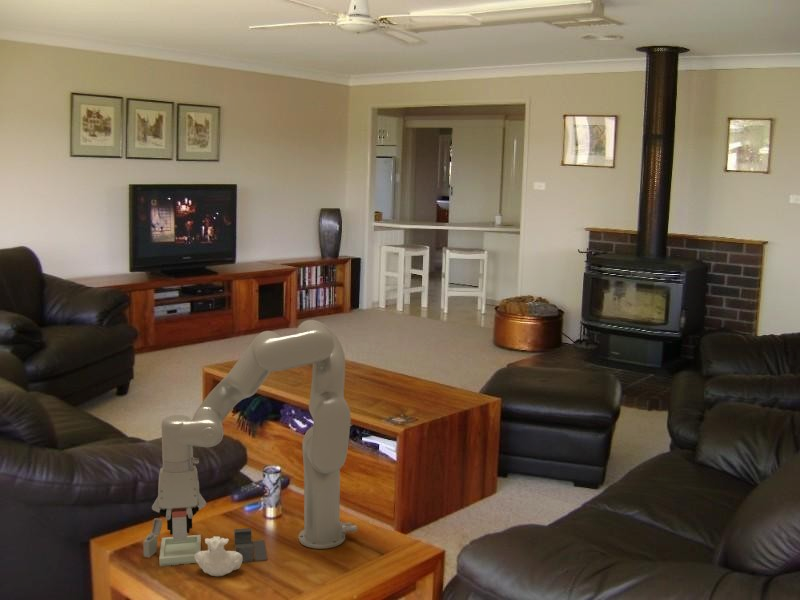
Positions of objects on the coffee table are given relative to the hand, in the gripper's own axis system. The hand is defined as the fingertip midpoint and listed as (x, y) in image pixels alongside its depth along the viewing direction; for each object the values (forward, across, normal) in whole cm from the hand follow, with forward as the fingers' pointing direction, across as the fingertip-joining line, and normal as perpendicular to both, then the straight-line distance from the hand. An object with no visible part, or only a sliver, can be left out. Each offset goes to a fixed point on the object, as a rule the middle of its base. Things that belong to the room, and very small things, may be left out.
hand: (180, 531), depth 222 cm
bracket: (+6, -18, +2) cm, 19 cm away
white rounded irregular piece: (+7, -10, +12) cm, 17 cm away
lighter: (+7, +7, -3) cm, 10 cm away
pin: (+2, 0, 0) cm, 2 cm away
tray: (+6, 0, 0) cm, 6 cm away
